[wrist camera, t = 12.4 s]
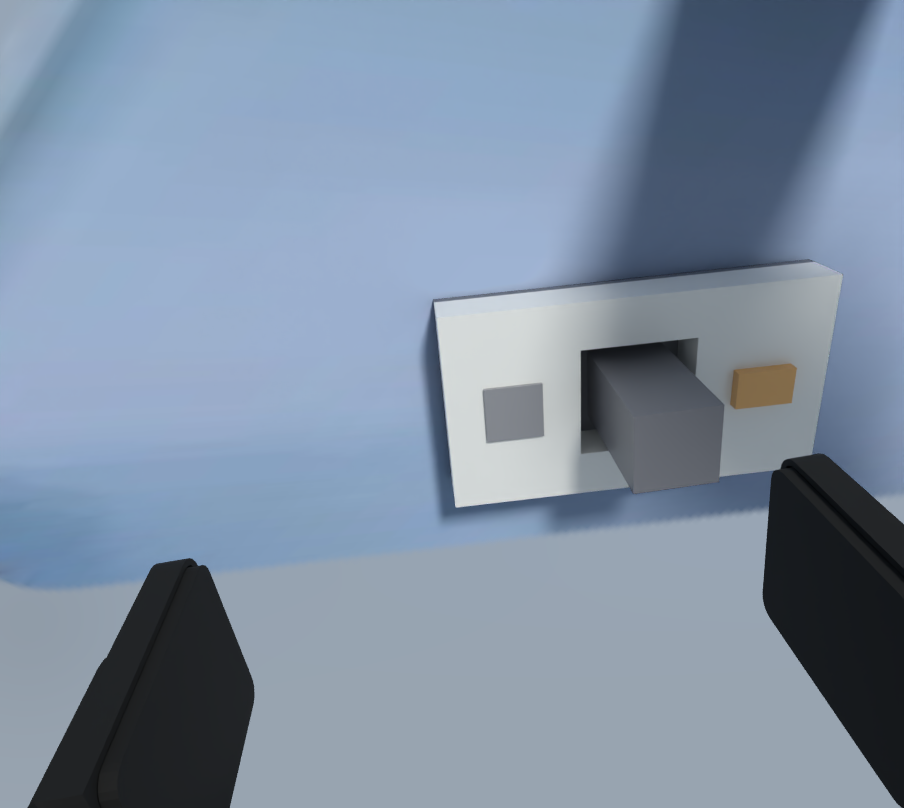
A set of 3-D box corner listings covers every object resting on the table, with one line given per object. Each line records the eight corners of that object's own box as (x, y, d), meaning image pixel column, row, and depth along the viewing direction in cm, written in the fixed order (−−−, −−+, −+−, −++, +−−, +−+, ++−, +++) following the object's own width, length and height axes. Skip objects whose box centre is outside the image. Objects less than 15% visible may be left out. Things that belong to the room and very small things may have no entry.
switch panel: (809, 259, 36) (850, 277, 32) (782, 440, 40) (815, 471, 37) (433, 299, 35) (437, 322, 32) (451, 478, 40) (456, 513, 37)
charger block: (659, 340, 36) (724, 404, 29) (657, 406, 38) (718, 481, 31) (586, 350, 36) (633, 417, 29) (588, 415, 38) (633, 494, 31)
